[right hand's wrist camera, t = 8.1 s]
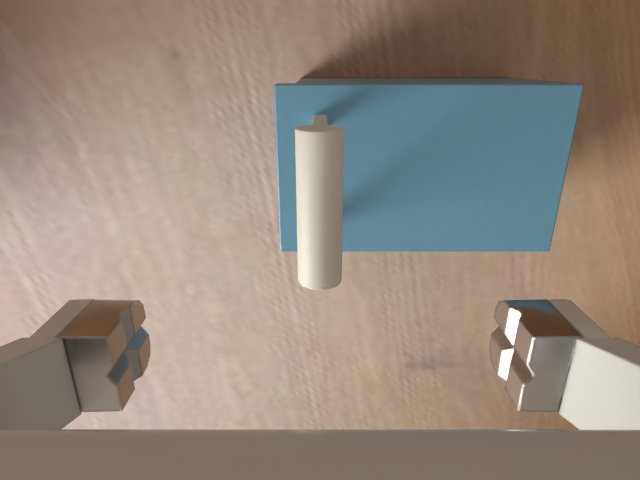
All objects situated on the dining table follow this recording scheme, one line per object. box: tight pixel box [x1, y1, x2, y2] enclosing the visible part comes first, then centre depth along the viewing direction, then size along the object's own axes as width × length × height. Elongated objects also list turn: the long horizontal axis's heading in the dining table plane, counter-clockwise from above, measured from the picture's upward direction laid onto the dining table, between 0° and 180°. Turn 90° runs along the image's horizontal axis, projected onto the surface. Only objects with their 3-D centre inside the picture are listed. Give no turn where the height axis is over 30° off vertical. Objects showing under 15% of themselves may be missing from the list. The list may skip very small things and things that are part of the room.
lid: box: [274, 83, 584, 290], centre depth 21 cm, size 16×9×8 cm, turn 90°
